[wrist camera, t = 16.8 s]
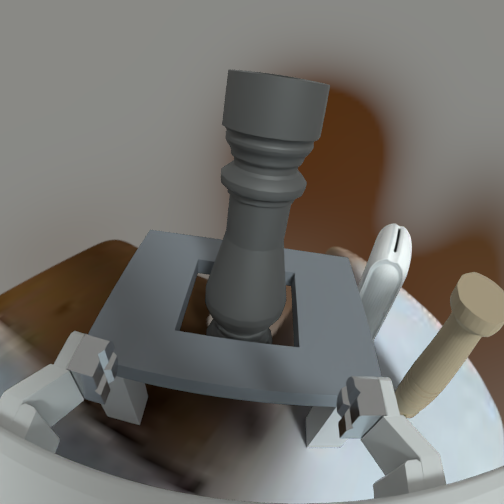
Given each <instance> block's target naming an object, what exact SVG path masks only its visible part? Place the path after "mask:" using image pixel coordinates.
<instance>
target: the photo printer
mask: <svg viewBox="0 0 504 504" xmlns="http://www.w3.org/2000/svg"><path fill="white" fill-rule="evenodd" d="M411 251H412V244H411V237H410V235H409V233H408V231H407V230H406V229H405V227H403V226H398V225H397V224H390V225H387V226H385V227H384V228H383V229H382V230H381V231H380V232H379V234H378V236H377V239H376V241H375V244H374V247H373V249H372V252H371V255H370V257H369V260H368V262H367V265H366V267H365V270H364V272H363V275H362V277H361V279H360V282H359V284H358V290H359V294H360V297H361V300H362V304H363V307H364V311H365V314H366V318H367V321H368V325H369V328H370V332H371V336H372V340H373V341H374V339H375V337H376V335H377V333H378V332H379V330H380V328H381V326H382V324H383V322H384V320H385V318H386V316H387V314H388V312H389V310H390V309H391V307H392V305H393V303H394V301H395V298H396V296H397V294H398V292H399V290H400V288H401V286H402V284H403V282H404V280H405V278H406V276H407V273H408V269H409V265H410V259H411Z"/></svg>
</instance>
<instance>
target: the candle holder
mask: <svg viewBox="0 0 504 504" xmlns="http://www.w3.org/2000/svg"><path fill="white" fill-rule="evenodd" d="M329 88H330V85H327V84H323V83H318V82H314V81H310V80H304V79H299V78H294V77H288V76H282V75H275V74H268V73H261V72H251V71H242V70H228V79H227V86H226V95H225V104H224V113H223V122H222V125H223V126H225V127H226V129H227V131H226V140H227V142H228V144H229V145H230V147H231V154H232V155H233V156H234V161H232V162H231V163H229V164H227V165H226V166H224V167H223V168H222V169H221V182H222V184H223V185H224V186H225V187H226V188H227V189H228V193H229V194H230V198H229V208H228V219H227V229H226V232H225V235H224V238H223V240H222V243H221V246H220V249H219V251H218V254H217V257H216V260H215V262H214V265H213V268H212V271H211V273H210V276H209V279H208V282H207V284H206V296H205V302H206V306H207V308H208V310H209V312H210V314H211V316H212V317H213V320H212V322H211V323H210V325H209V326H208V328H207V333H206V336H213V337H219V338H226V339H233V340H240V341H248V342H256V343H264V344H272V335H271V330H270V329H269V327H270V326H271V325H272V324H273V323H275V322H276V321H277V320H278V319H279V317H280V316H281V314H282V311H283V309H284V306H285V302H286V282H285V260H284V236H285V231H286V226H287V221H288V216H289V211H290V206H291V204H292V203H293V201H294V200H295V199H296V198H298V197H301V195H302V193H303V192H304V190H305V188H306V184H307V183H306V181H305V179H304V178H303V176H302V174H301V173H300V172H299V171H298V166H300V165H301V164H302V162H303V161H304V158H305V157H306V156H307V155H308V154H309V153H310V152H311V151H312V149H313V143H314V141H316V140H318V139H319V138H320V135H321V130H322V125H323V120H324V115H325V110H326V104H327V99H328V94H329Z"/></svg>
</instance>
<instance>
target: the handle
mask: <svg viewBox="0 0 504 504" xmlns="http://www.w3.org/2000/svg"><path fill="white" fill-rule="evenodd" d="M450 305H451V309H452V313H451V315H450V317H449V318H448V319H447V321H446V322H445V324H444V325H443V326H442V328H441V329H440V331H439V332H438V333H437V335H436V336H435V337H434V339H433V340H432V341H431V343H430V344H429V345H428V346H427V348H426V349H425V350H424V351H423V353H422V354H421V355H420V356H419V357H418V359H417V360H416V361H415V362H414V364H413V365H412V367H411V368H410V369H409V371H408V372H407V374H406V375H405V377H404V378H403V380H402V381H401V383H400V384H399V386H398V388H397V390H396V391H395V396H396V400H397V404H398V409H399V413H400V415H404V416H405V417H406V418H412V417H414V416H415V415H416V414H418V413H419V411H421V410H422V409H424V408H425V407H426V406H427V405H428V404H429V403H431V402H432V401H433V400H434V399H435V398H436V397H437V396H438V395H439V394H440V393H441V392H442V390H443V389H444V388H445V387H446V386H447V385H448V383H449V382H450V381H451V379H452V378H453V377H454V375H455V374H456V373H457V371H458V370H459V368H460V367H461V366H462V364H463V363H464V361H465V360H466V359H467V357H468V356H469V354H470V353H471V351H472V350H473V348H474V347H475V346H476V344H477V343H478V341H479V340H480V338H481V337H482V336H483V337H489V336H491V335H493V334H495V333H496V332H497V331H499V329H500V328H501V327H502V326H503V324H504V291H503V290H502V289H501V288H500V287H499V286H498V285H497V284H496V283H494V282H493V281H491V280H490V279H489V278H487V277H485V276H483V275H481V274H479V273H476V272H473V273H467V274H464V275H463V276H462V277H461V278H460V280H459V282H458V283H457V285H456V287H455V289H454V290H453V292H452V294H451V298H450Z"/></svg>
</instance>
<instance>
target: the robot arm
mask: <svg viewBox="0 0 504 504" xmlns="http://www.w3.org/2000/svg"><path fill="white" fill-rule="evenodd" d="M114 348H115V347H114V344H113V342H112V341H108V340H105V339H101V338H97V337H94V336H90V335H87V334H84V333H80V332H77V331H74V332H72V333H71V334H70V336H69V338H68V339H67V341H66V343H65V345H64V346H63V348H62V350H61V352H60V354H59V355H58V357H57V359H56V361H55V363H54V365H52V364H49V365H47V366H46V367H44V368H42V369H41V370H39V371H38V372H36V373H34V374H33V375H31V376H29V377H28V378H26V379H24V380H23V381H21V382H19V383H18V384H16V385H14V386H13V387H11V388H9V389H8V390H6V391H5V392H4V393H3V395H2V397H1V399H0V504H286V503H260V502H246V501H236V500H226V499H218V498H211V497H204V496H198V495H192V494H186V493H181V492H176V491H171V490H166V489H162V488H158V487H153V486H149V485H145V484H141V483H138V482H134V481H130V480H127V479H123V478H120V477H117V476H114V475H111V474H107V473H104V472H101V471H98V470H96V469H93V468H90V467H87V466H85V465H82V464H79V463H77V462H74V461H72V460H69V459H67V458H64V457H62V456H59V455H57V454H55V453H56V450H57V447H58V444H59V441H60V439H59V437H58V436H57V435H56V433H55V432H54V431H53V430H52V429H51V427H52V426H53V425H54V424H56V423H57V422H58V421H59V420H61V419H62V418H63V417H64V416H65V415H67V414H68V413H69V412H70V411H71V410H73V409H74V408H75V407H76V406H77V405H79V404H80V403H81V402H82V401H84V399H87V400H90V401H94V402H97V403H101V404H104V405H105V403H106V400H107V398H108V395H109V393H110V387H109V383H110V382H112V381H113V380H115V377H116V374H117V370H118V358H117V355H116V354H115V353H114V352H113V351H114ZM336 407H337V413H338V414H339V415H340V416H341V419H340V421H339V422H338V427H339V437H340V439H361V441H362V442H363V444H364V445H365V447H366V448H367V450H368V451H369V453H370V454H371V455H372V457H373V458H374V460H375V461H376V463H377V464H378V466H379V467H380V468H381V470H382V471H383V473H384V474H385V476H384V477H382V478H381V479H379V480H378V481H376V482H375V483H374V484H373V489H374V499H367V500H358V501H348V502H334V503H309V504H504V466H501V467H499V468H496V469H494V470H491V471H488V472H485V473H482V474H479V475H476V476H473V477H470V478H467V479H464V480H460V481H457V482H454V483H450V484H446V481H445V476H444V471H443V466H442V461H441V457H440V454H439V453H438V452H437V451H436V450H435V449H434V448H433V446H432V445H431V444H430V443H429V442H428V441H427V440H426V439H425V438H424V437H423V436H422V435H421V434H420V432H419V431H418V430H417V429H416V428H415V427H414V426H413V425H412V424H411V423H410V422H409V421H408V420H407V418H406V417H405V416H404V415H400V413H399V409H398V404H397V400H396V396H395V392H394V388H393V384H392V381H391V379H390V378H389V377H366V376H351V377H349V378H348V379H347V381H346V386H345V387H343V388H341V390H340V392H339V393H338V397H337V404H336Z"/></svg>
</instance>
